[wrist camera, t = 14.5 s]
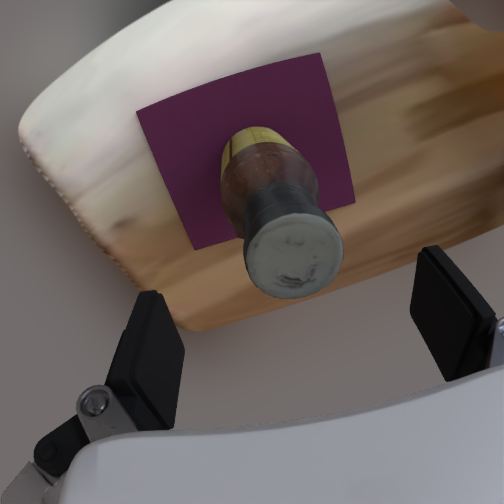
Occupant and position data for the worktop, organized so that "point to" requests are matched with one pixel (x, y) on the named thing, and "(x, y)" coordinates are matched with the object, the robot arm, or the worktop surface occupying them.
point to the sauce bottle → (278, 215)
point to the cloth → (236, 119)
